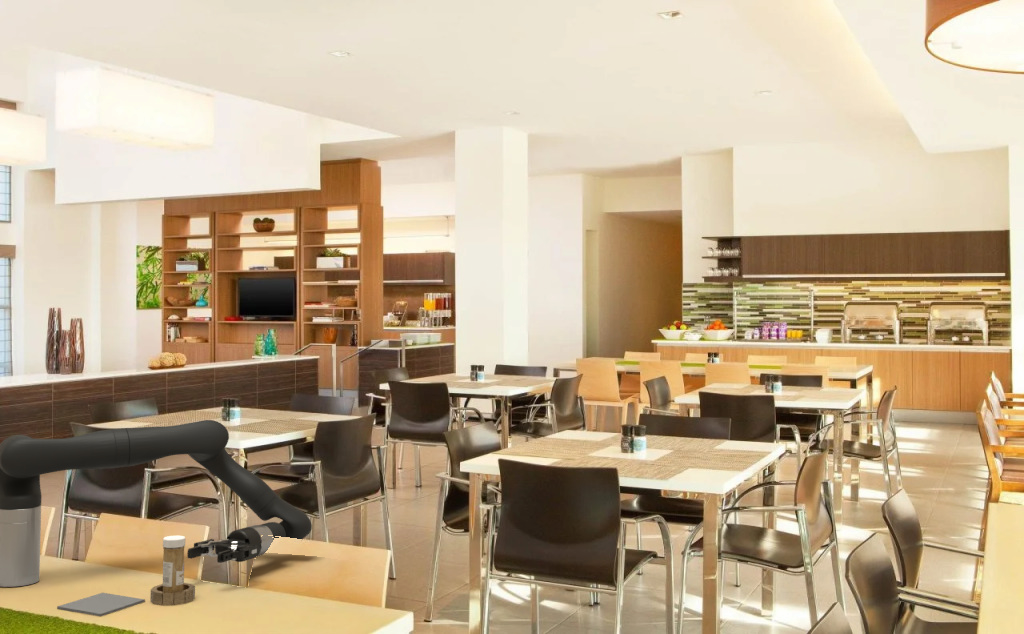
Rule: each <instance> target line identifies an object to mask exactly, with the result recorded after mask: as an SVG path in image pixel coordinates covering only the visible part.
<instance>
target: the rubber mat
mask: <svg viewBox="0 0 1024 634" xmlns="http://www.w3.org/2000/svg"><path fill="white" fill-rule="evenodd" d="M145 602H146V599H144V598H139V597H138V598H137V597H132V596H126V595H119V594H114V593H107V592H100V593H96V594H93V595H90V596H87V597H83V598H79V599H77V600H74V601H70V602H68V603H63V604H60V605H58V606H56V609H57V610H60V611H61V610H62V611H67V612H72V613H79V614H84V615H91V616H96V617H104V616H106V615H109V614H111V613H115V612H118V611H121V610H124V609H127V608H131V607H133V606H136V605H139V604H142V603H145Z"/></svg>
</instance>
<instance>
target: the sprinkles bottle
mask: <svg viewBox="0 0 1024 634" xmlns="http://www.w3.org/2000/svg"><path fill="white" fill-rule="evenodd" d="M162 547H163V560H162V584H163V592H177V591H183V590H184V583H185V547H186V537H185V535H184V536H183V535H168V536H164V537H163V539H162Z"/></svg>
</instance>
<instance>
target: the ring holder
mask: <svg viewBox="0 0 1024 634" xmlns="http://www.w3.org/2000/svg"><path fill="white" fill-rule="evenodd" d="M195 598H196V586H195V585H194V584H193V583H190V582H189V583H188V582H184V590H183V591H177V592H163V583H162V584H158V585H154V586H153V587H152V588H151V589H150V597H149V599H150V602H151V603H152V604H153V605H158V606H177V605H183V604H185V605H186V604H187V603H191V602H193V601H194V600H195Z"/></svg>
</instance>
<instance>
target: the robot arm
mask: <svg viewBox="0 0 1024 634" xmlns="http://www.w3.org/2000/svg"><path fill="white" fill-rule="evenodd" d="M229 439H230V434H229V430H228V429H227V427H226V426H225V425H223V424H222V423H221V422H219V421H217V420H211V419H204V420H199V421H198V420H197V421H193V422H188V423H187V422H186V423H181V424H177V425H168V426H145V427H139V426H138V427H122V428H111V429H110V428H109V429H103V430H102V429H101V430H97V431H93V432H87V433H84V434H81V435H77V436H71V437H67V438H33V437H31V436H28V435H25V434H15V435H11V436H9V437H6V438H4V440H3V441H2V442H1V443H0V587H4V588H8V587H9V588H10V587H13V588H14V587H22V586H28V585H33V584H36V583H38V582H39V581H40V576H41V575H40V573H41V572H40V571H41V569H40V568H41V567H40V566H41V535H42V533H41V531H42V527H41V526H42V498H43V497H42V489H41V475H45V474H51V473H56V472H61V471H69V470H71V471H72V470H103V469H116V468H117V469H118V468H125V467H135V466H138V465H142V464H145V463H146V464H147V463H151V462H153V461H156V460H160V459H163V458H166V457H170V456H171V457H172V456H178V455H188V456H189V457H190V458H191V459H192V460H194V461H195V462H196V463H198V464H199V465H200V466H202V467H203V468H205V469H206V470H208V472H210V473H211V474H213V476H215V477H216V478H217V479H219V480H220V481H221V482H222V483H223V484H225V485H226V486H227V487H228V489H230V490H231V491H232V492H233V493H235V494H236V495H237V497H239V498H240V500H242V502H243V503H244V504H245V505H246V506H247V507H249V509H250V510H251V511H252V512H253V513H254V514H255V515H256V516H257V517H258V519H260V520H261V521H264V522H265V523H262V524H254V525H250V526H247V527H243V528H238V529H235V530H232V531H231V532H230V533H229V534H228V535H227V537H226V538H223V539H220V540H215V539H213V538H210V539H206V540H202V541H198V542H194V543H193V547H190V548H188V549H187V557H186V558H187V559H195V558H199V557H202V556H204V557H205V556H208V557H210V558H215V557H217V559H216V561H217V564H218V563H220V564H222V563H226V562H228V561H235V562H237V563H241V562H242V563H243V562H245V561H249V560H253V559H256V558H258V556H259V557H261V556H263V555H265V554H266V553H265V552H266V551H267V550H268V548H269V547H270V545H271V543H272V542H273V540H274V538H279V537H275V536H281V537H290V538H297V539H302V540H303V539H305V538H306V537H307V536H308V535H310V534H311V532H312V529H313V527H312V526H313V525H312V521H311V519H310V517H309V516H308V514H306V513H305V512H304V511H303V510H301V509H300V508H297V507H295V506H294V505H292V504H290V503H289V502H288V501H285V500H284V499H282V498H281V497H280V495H278V494H277V493H276V492H275V490H273V489H272V488H271V486H269V485H268V483H267V482H265V481H264V480H263V479H262V478H260V477H259V476H257V475H256V474H254V473H253V472H251V471H249V470H248V469H247V468H245V467H243V466H242V465H241V464H240V463H239V462H237V461H236V460H235V459H234V458H233V457H232V456H231V455H230V454H229V453H228V451H227V450H226V449H225V448H226V446H227V445H228V443H229ZM273 518H277V519H280V520H281V521H280V522H276V521H269V520H271V519H273ZM266 521H269V522H266ZM261 535H263V536H262V537H261ZM268 535H273V536H268ZM272 537H274V538H272ZM213 551H214V552H215V553H213ZM264 553H265V554H264ZM260 555H261V556H260ZM256 556H257V557H256ZM255 557H256V558H255Z"/></svg>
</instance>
